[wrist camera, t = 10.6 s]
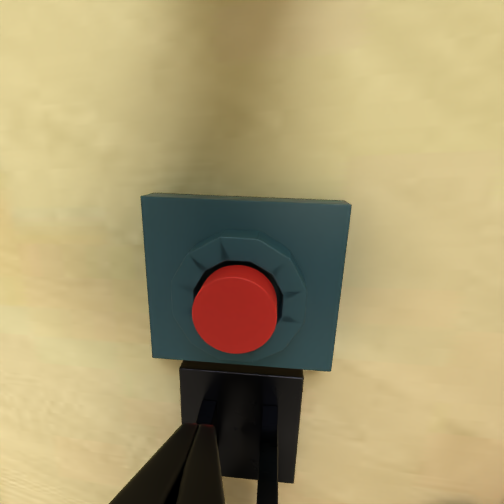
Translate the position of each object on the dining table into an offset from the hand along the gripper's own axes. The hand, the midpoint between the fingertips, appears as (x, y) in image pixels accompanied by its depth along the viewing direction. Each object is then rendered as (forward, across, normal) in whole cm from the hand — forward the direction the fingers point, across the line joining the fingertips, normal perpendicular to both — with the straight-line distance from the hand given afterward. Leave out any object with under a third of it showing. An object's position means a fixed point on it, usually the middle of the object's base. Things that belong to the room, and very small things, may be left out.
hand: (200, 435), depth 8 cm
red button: (+8, 0, 0) cm, 8 cm away
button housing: (+11, 0, 0) cm, 11 cm away
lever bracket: (+11, 0, +10) cm, 15 cm away
